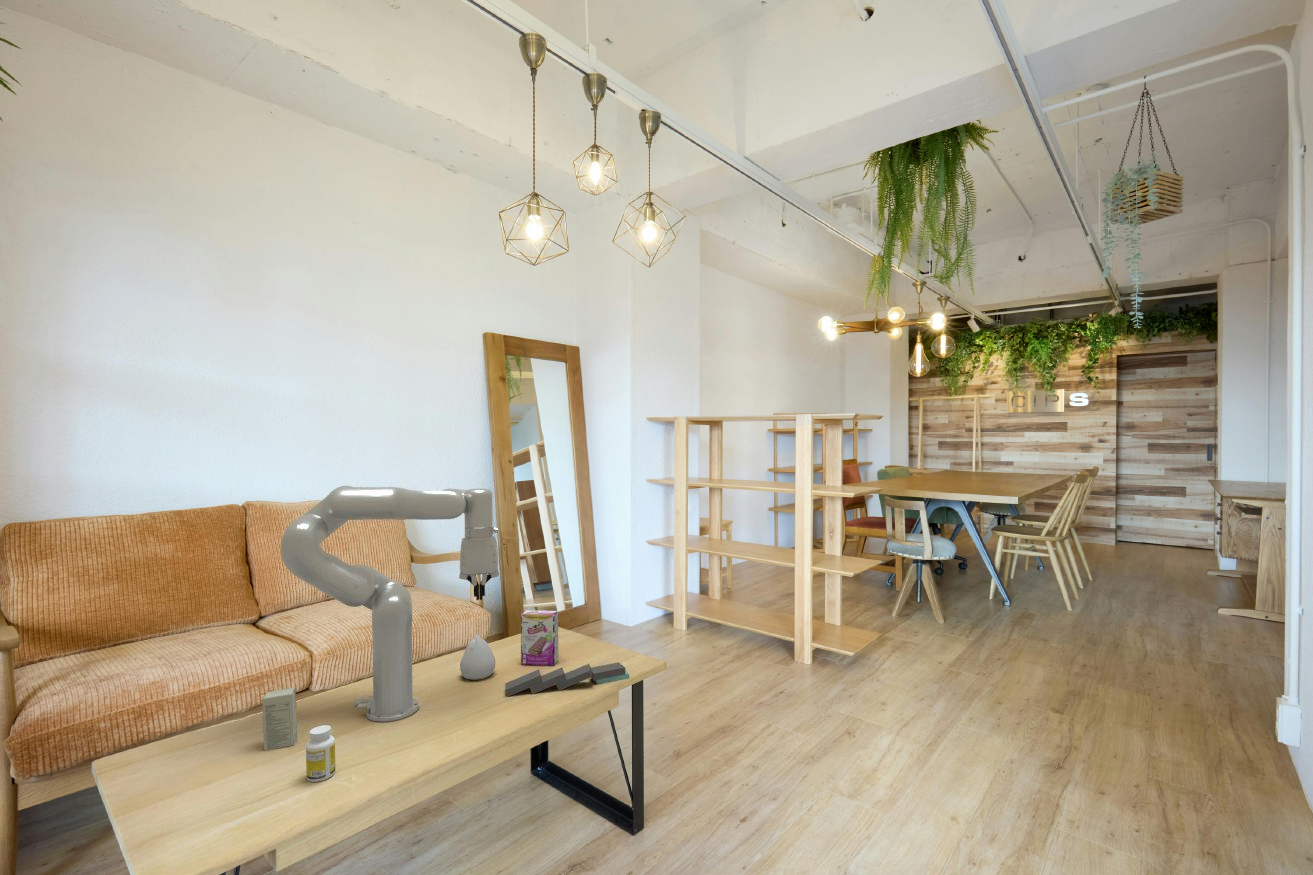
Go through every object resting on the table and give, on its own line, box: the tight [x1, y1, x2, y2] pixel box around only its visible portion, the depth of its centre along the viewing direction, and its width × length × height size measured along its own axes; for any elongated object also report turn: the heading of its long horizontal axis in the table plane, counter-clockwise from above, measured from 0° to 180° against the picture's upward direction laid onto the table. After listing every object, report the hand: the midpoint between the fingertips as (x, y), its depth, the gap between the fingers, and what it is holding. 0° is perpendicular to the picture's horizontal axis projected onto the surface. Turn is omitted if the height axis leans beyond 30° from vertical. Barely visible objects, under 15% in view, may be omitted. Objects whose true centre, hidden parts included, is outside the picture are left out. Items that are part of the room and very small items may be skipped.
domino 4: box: [590, 662, 626, 682], centre depth 178 cm, size 2×5×10 cm
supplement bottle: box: [305, 724, 336, 783], centre depth 127 cm, size 5×5×10 cm
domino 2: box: [529, 667, 566, 695], centre depth 172 cm, size 2×5×10 cm
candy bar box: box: [520, 609, 559, 667], centre depth 192 cm, size 11×5×16 cm, turn 84°
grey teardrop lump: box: [459, 634, 497, 681], centre depth 182 cm, size 10×10×12 cm
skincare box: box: [261, 687, 298, 751], centre depth 141 cm, size 6×4×12 cm
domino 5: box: [594, 669, 630, 685], centre depth 179 cm, size 2×5×10 cm
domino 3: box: [556, 663, 592, 691], centre depth 173 cm, size 2×5×10 cm
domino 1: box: [504, 669, 542, 697], centre depth 170 cm, size 2×5×10 cm
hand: (479, 598), depth 167 cm, fingers closed
